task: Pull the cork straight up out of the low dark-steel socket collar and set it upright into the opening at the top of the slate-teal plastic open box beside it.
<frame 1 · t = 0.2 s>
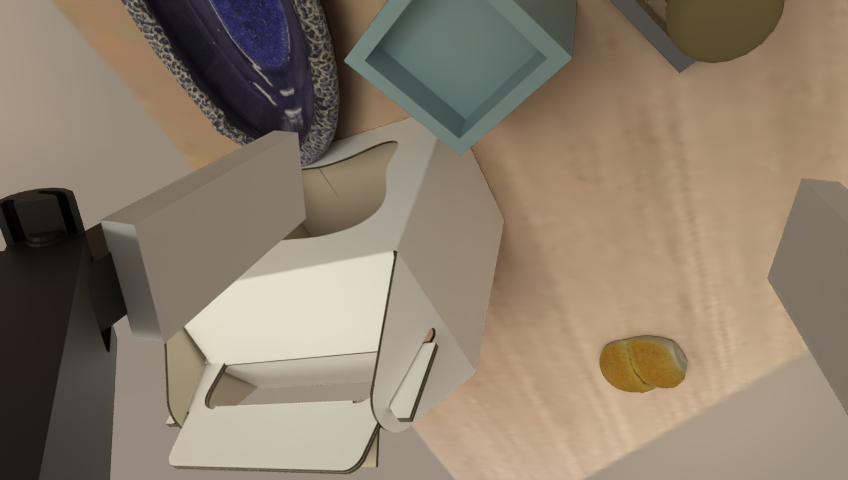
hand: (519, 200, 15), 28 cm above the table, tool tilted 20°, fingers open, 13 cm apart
open box: (474, 5, 39), on the table
bread roll: (642, 352, 62), on the table
gable box: (379, 190, 54), on the table
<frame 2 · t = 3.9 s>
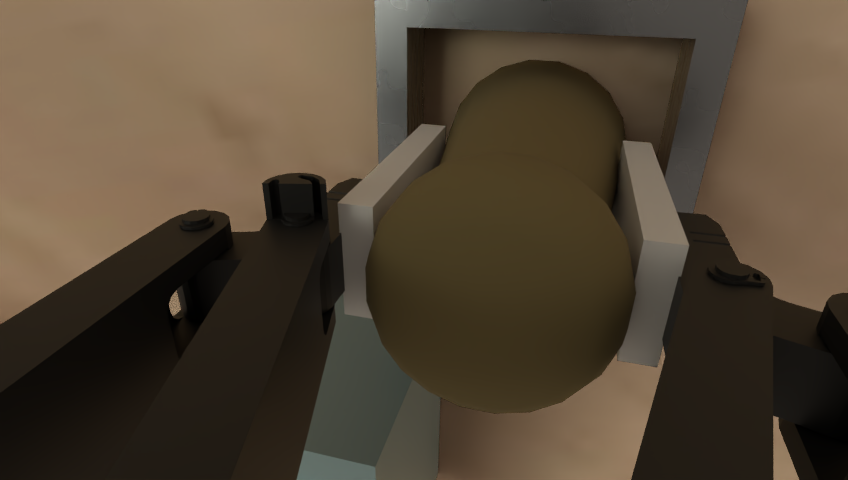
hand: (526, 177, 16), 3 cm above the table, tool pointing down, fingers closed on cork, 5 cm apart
cork: (534, 148, 19), on the table, touching gripper
open box: (339, 376, 26), on the table
socket collar: (534, 149, 19), on the table
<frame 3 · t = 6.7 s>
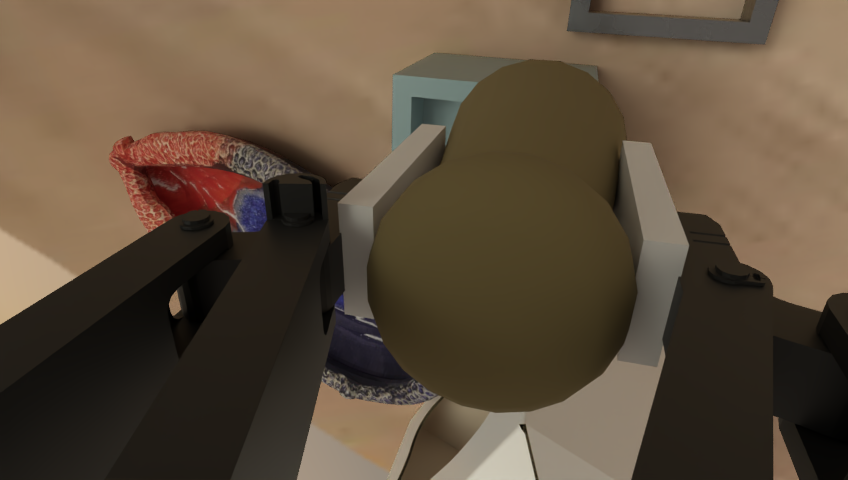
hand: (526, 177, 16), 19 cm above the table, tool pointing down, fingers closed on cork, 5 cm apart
cork: (535, 148, 19), point 16 cm above the table, touching gripper
open box: (504, 138, 36), on the table
dish: (307, 246, 44), on the table
gable box: (539, 385, 44), on the table
when the fingers open (10 cm above the table, at t = 9.5 s): cork drops 1 cm, resting on open box.
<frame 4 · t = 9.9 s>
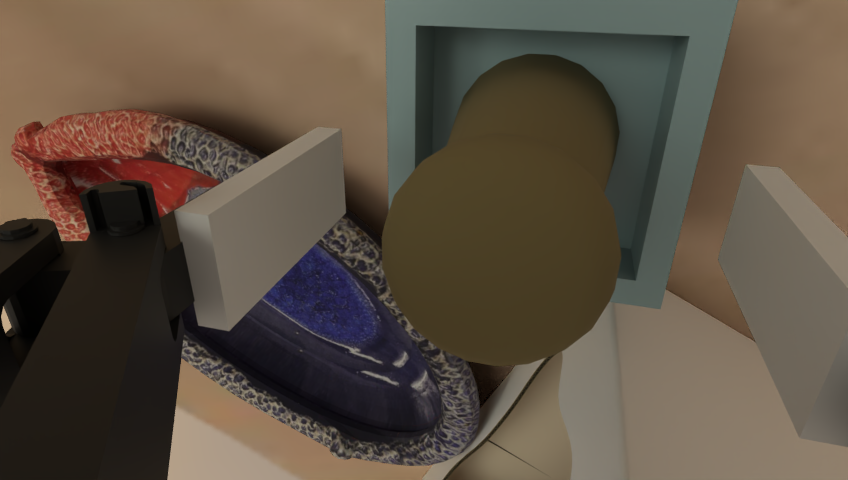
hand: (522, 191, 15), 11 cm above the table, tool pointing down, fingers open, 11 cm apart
cork: (533, 137, 20), point 6 cm above the table, touching open box
open box: (547, 104, 25), on the table
dish: (283, 261, 34), on the table
gable box: (592, 435, 33), on the table
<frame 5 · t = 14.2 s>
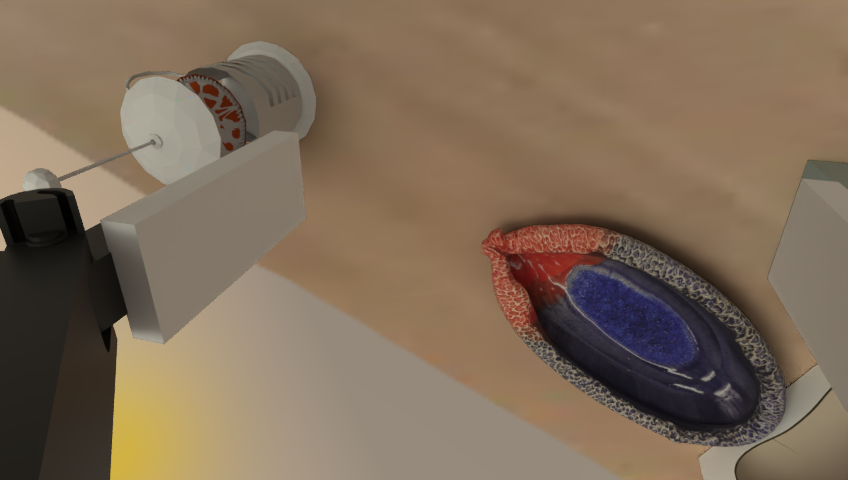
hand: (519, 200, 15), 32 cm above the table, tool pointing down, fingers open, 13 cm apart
dish: (628, 311, 51), on the table
french press: (260, 92, 51), on the table
gable box: (838, 427, 50), on the table
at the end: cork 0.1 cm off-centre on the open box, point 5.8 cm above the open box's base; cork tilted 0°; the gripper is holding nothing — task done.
